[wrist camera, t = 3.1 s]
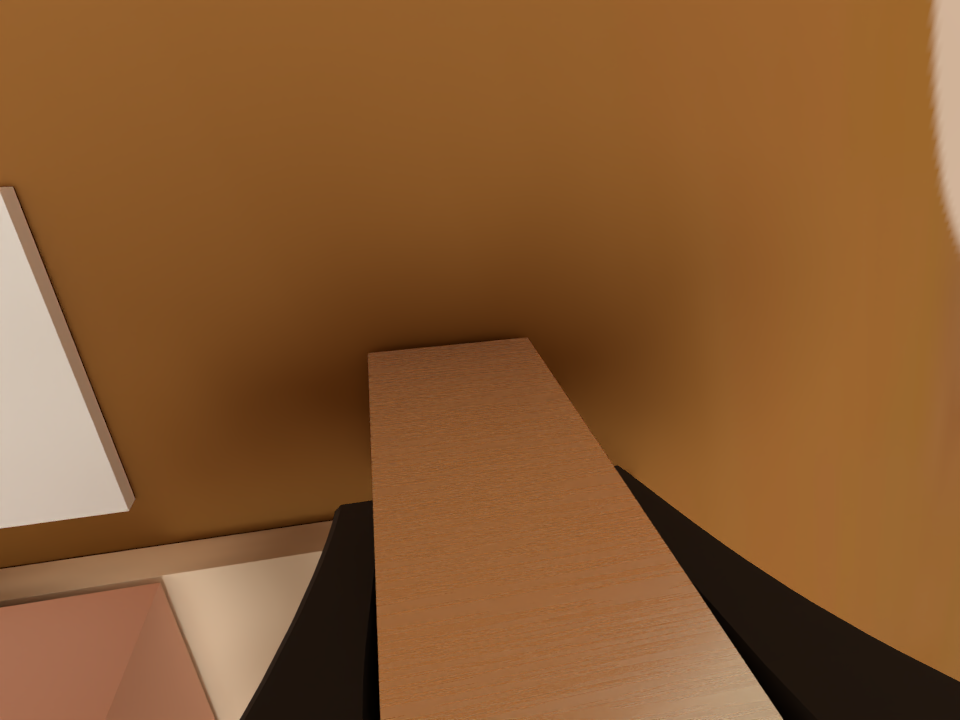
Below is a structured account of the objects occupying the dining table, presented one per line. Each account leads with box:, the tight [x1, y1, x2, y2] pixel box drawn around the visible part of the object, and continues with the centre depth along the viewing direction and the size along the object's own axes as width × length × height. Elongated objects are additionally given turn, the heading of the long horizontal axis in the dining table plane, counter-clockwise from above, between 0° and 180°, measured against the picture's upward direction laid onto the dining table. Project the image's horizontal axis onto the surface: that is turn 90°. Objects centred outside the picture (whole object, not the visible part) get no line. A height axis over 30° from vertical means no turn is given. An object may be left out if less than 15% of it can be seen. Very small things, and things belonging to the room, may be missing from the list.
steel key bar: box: [368, 337, 783, 720], centre depth 9 cm, size 4×4×9 cm
